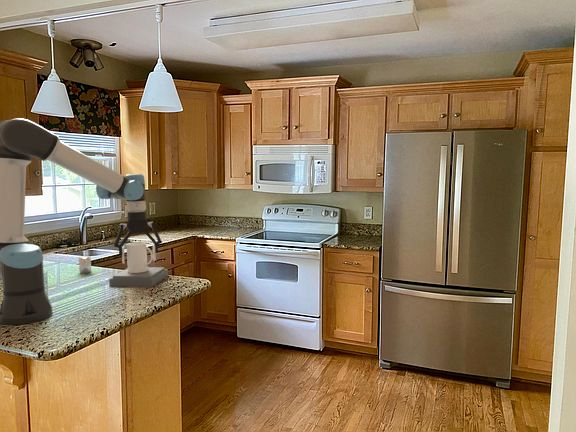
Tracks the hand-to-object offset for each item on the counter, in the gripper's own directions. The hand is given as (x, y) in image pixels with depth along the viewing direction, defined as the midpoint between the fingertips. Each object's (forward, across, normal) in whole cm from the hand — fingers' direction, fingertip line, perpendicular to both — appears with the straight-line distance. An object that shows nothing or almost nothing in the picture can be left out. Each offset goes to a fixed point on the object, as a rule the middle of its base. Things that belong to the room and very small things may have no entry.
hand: (139, 261), depth 190 cm
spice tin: (+8, -21, +27) cm, 36 cm away
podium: (+8, 0, 0) cm, 8 cm away
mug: (+4, +1, 0) cm, 4 cm away
